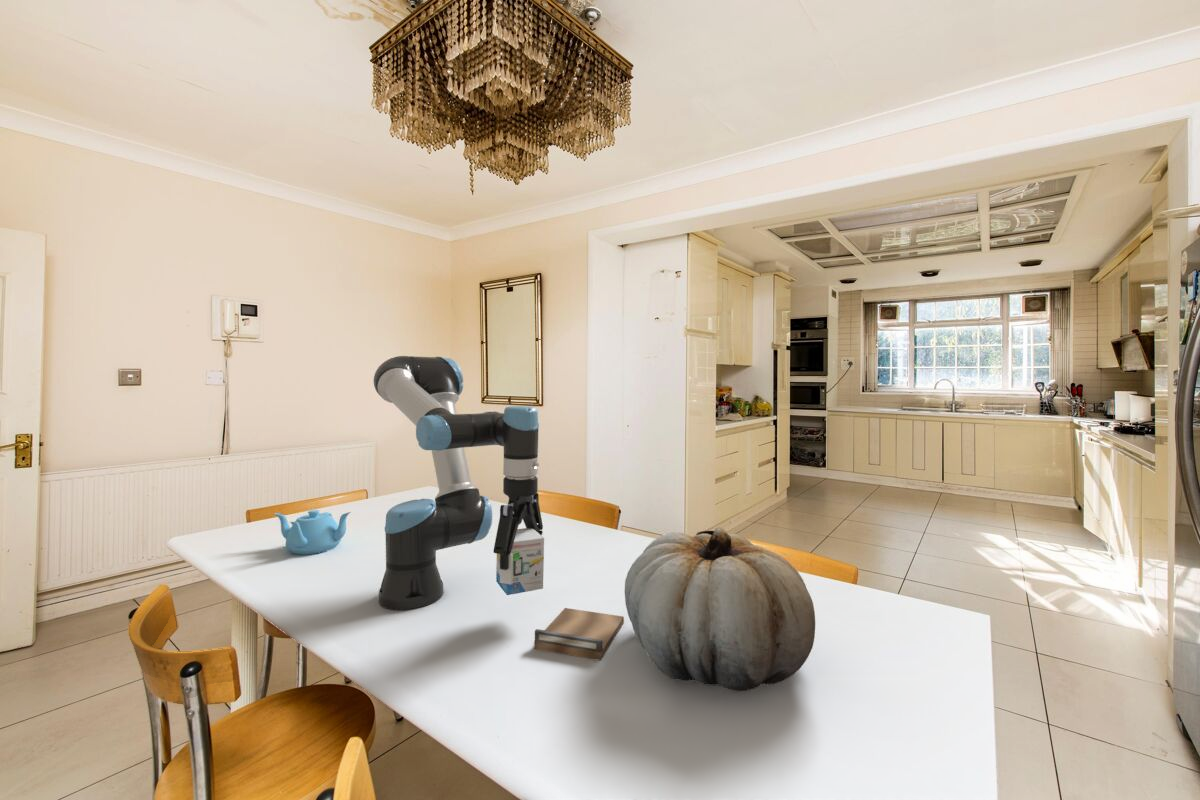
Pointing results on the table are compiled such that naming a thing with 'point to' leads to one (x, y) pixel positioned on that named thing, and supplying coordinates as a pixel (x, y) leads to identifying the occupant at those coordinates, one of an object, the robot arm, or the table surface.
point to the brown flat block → (579, 633)
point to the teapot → (312, 532)
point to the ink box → (525, 562)
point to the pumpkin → (719, 610)
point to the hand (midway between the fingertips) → (519, 572)
